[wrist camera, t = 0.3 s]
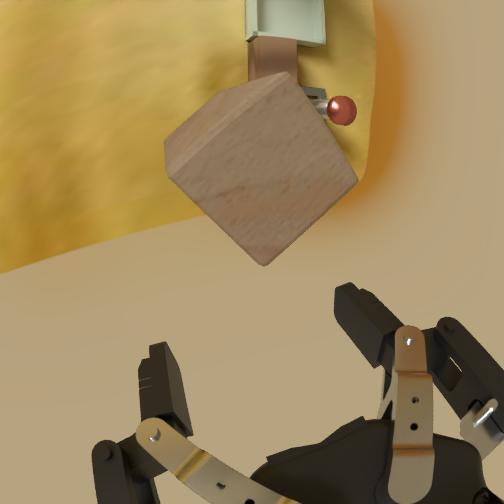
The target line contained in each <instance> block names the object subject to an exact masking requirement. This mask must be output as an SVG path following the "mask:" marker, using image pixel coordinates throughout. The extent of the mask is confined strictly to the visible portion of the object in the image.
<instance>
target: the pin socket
mask: <svg viewBox="0 0 504 504" xmlns="http://www.w3.org/2000/svg"><path fill="white" fill-rule="evenodd" d="M301 89H302V90H303V91H304V93H305V94H306V96H315V99H325V89H321V88H312V87H301ZM323 121H324V122H325V119H323Z"/></svg>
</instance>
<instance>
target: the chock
mask: <svg viewBox="0 0 504 504" xmlns="http://www.w3.org/2000/svg"><path fill="white" fill-rule="evenodd" d="M281 72H288V73H289V74H291V75H292V77H293V78H294V79H295V81H296V82H297V44H296V39H291V38H283V37H274V36H262V35H260V36H258V37H257V38H256V39H254V40H253V41H251V42H250V43H248V82H250V81H253V80H256V79H260V78H263V77H266V76H270V75H273V74H277V73H281Z"/></svg>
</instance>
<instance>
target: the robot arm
mask: <svg viewBox="0 0 504 504" xmlns="http://www.w3.org/2000/svg"><path fill="white" fill-rule="evenodd" d="M334 315H335V318H336V320H337V322H338V323H339V325H340V326H341V327H342V328H343V330H344V331H345V332H346V334H347V335H348V336H349V337H350V339H351V340H352V341H353V342H354V344H355V345H356V346H357V348H358V349H359V350H360V351H361V353H362V354H363V355H364V356H365V358H366V359H367V360H368V362H369V363H370V364H371V366H372V367H373V368H376V367H378V366H380V365H382V366H383V367H384V370H383V382H382V393H381V403H380V408H379V412H378V416H377V419H372V420H365V419H364V417H363V416H361V417H359V418H357V419H355V420H353V421H351V422H350V423H348V424H346V425H343V426H341V427H340V428H339V429H337V430H336V431H335V432H334V433H332V434H331V435H330V436H329V437H327V438H326V439H325V440H323V441H322V442H320V443H318V444H313V445H307V446H302V447H295V448H290V449H288V450H285V451H282V452H279V453H276V454H273V455H270V456H268V457H266V458H267V460H268V462H266V463H265V464H263V465H262V466H261V467H259V468H258V469H257V470H256V471H255V472H254V473H253V474H252V475H251V477H250V478H248V477H246V476H244V475H243V474H241V473H239V472H238V471H236V470H234V469H233V468H231V467H229V466H228V465H226V464H225V463H223V462H222V461H220V460H218V459H217V458H215V457H214V456H212V455H211V454H209V453H208V452H206V451H204V450H201V449H200V448H198V447H197V446H196V445H194V444H193V443H191V442H190V441H188V439H187V437H188V436H193V431H192V426H191V422H190V417H189V412H188V408H187V403H186V398H185V393H184V388H183V382H182V377H181V372H180V369H179V366H178V363H177V361H176V360H175V358H174V356H173V354H172V352H171V350H170V348H169V346H168V344H167V343H166V342H161V343H158V344H154V345H150V346H149V354H150V358H146V359H142V361H141V364H140V366H139V369H138V378H139V396H140V410H141V423H140V424H139V426H138V427H137V430H136V432H135V433H134V434H133V435H132V436H130V437H128V438H126V439H124V440H122V441H120V442H118V443H115V442H113V441H111V440H103V441H100V442H99V443H97V444H96V445H95V446H94V448H93V450H92V465H93V474H94V482H95V489H96V496H97V502H98V504H160V500H159V497H158V494H157V489H156V486H155V482H154V477H156V476H158V475H160V474H162V473H164V472H166V471H168V470H169V471H170V472H171V473H172V474H174V475H175V476H176V477H177V479H178V480H180V481H181V482H182V483H183V484H185V485H186V486H187V487H188V488H190V489H191V490H192V491H194V492H195V493H197V494H198V495H200V496H201V497H202V498H204V499H205V500H206V501H208V502H209V503H211V504H504V501H503V500H502V499H500V498H499V497H498V496H496V495H495V494H493V493H492V492H491V491H490V490H489V489H488V488H487V486H486V483H485V480H484V476H483V471H482V460H483V459H484V458H485V457H486V456H487V455H488V454H489V453H490V452H492V451H493V450H494V449H495V448H496V446H498V444H500V443H501V442H502V441H503V440H504V370H503V369H502V368H501V367H500V366H499V364H498V363H497V362H496V361H495V360H494V359H493V358H492V357H491V355H490V354H489V353H488V352H487V351H486V350H485V349H484V348H483V346H482V345H481V344H480V343H479V342H478V341H477V340H476V339H475V338H474V337H473V336H472V335H471V334H470V333H469V332H468V331H467V330H466V328H465V327H464V326H463V325H462V324H461V323H460V322H459V321H458V320H456V319H454V318H451V317H444V318H441V319H440V320H439V321H438V323H437V325H436V327H434V328H430V329H425V330H420V329H418V328H417V327H415V326H410V325H406V326H405V325H404V324H403V323H402V322H400V320H399V319H398V318H397V317H396V316H395V315H394V314H393V313H392V312H391V311H390V310H389V309H388V308H387V307H386V306H384V304H383V303H382V302H381V301H379V299H378V298H377V297H375V295H374V294H373V293H371V292H369V291H367V290H365V289H360V290H359V289H358V288H357V287H356V286H355V285H354V284H353V283H351V282H349V283H346V284H343V285H341V286H338V287H336V288H335V298H334ZM450 357H451V358H452V359H453V360H454V362H455V363H456V364H457V365H458V366H459V368H460V369H461V371H462V372H461V371H460V370H459V369H458V367H457V366H456V365H455V364H454V362H453V361H452V360H451V359H450ZM433 383H434V384H435V385H436V387H437V388H438V389H439V391H440V392H441V393H442V395H443V396H444V398H445V399H446V400H447V402H448V403H449V404H450V406H451V407H452V408H453V410H454V411H455V413H456V414H457V415H458V417H459V418H460V420H461V423H460V429H461V430H460V435H461V437H463V438H464V440H459V439H455V438H451V437H447V436H443V435H439V434H435V433H433Z"/></svg>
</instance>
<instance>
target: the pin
mask: <svg viewBox="0 0 504 504" xmlns="http://www.w3.org/2000/svg"><path fill="white" fill-rule="evenodd" d="M309 100H310V101H311V103H312V104H313V106H314V107H315V109H316V110H317V112H318V113H319V115H320V116H321V118H322V119H325V120H331V121H332V122H333V123H335V124H337V125H344V126H346V125H350V124H351V123H352V122H353V121H354V120H355V118H356V114H357V109H356V105H355V103H354V102H353V100H352V99H350V98H349V97H347V96H335V97H333V98H331V99H309Z"/></svg>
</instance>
